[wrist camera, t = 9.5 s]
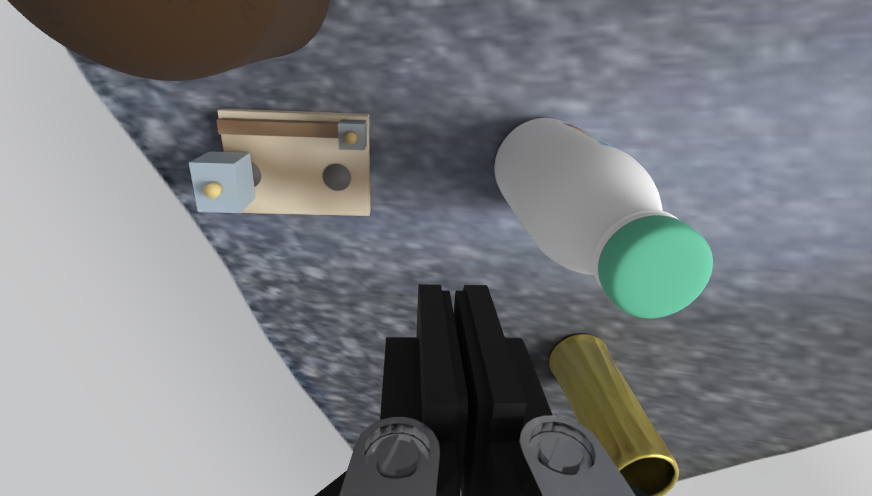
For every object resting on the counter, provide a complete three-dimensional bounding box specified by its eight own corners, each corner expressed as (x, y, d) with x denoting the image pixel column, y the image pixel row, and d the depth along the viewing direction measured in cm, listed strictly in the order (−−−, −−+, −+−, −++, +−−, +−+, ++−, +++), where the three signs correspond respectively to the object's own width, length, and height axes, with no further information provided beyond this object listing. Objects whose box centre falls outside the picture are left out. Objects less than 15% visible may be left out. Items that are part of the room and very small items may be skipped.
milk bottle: (497, 214, 39) (576, 362, 21) (488, 125, 36) (572, 208, 18) (584, 199, 39) (741, 335, 21) (583, 108, 36) (767, 175, 17)
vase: (599, 381, 47) (672, 507, 35) (543, 380, 47) (595, 507, 34) (613, 333, 45) (696, 450, 32) (554, 332, 44) (615, 450, 31)
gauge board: (223, 108, 34) (195, 118, 29) (369, 114, 35) (363, 124, 30) (237, 207, 37) (214, 230, 33) (370, 210, 38) (365, 233, 33)
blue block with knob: (209, 151, 34) (183, 165, 30) (250, 152, 34) (229, 166, 30) (216, 196, 35) (192, 215, 31) (255, 197, 35) (236, 216, 32)
